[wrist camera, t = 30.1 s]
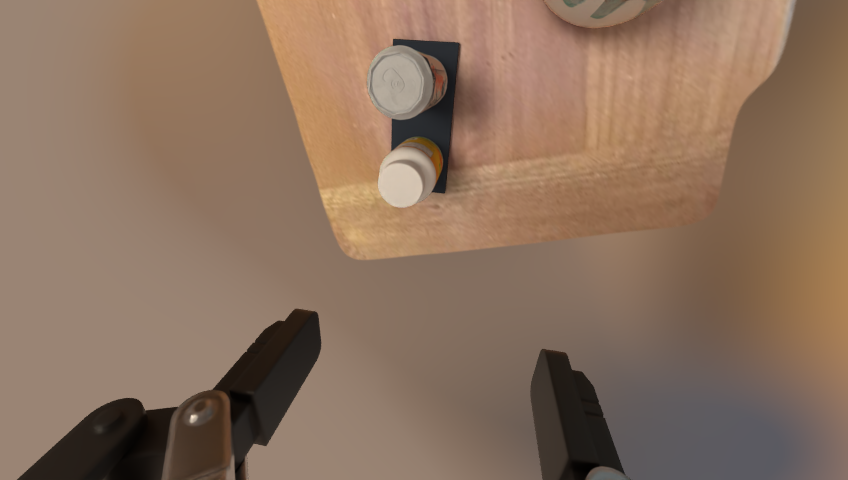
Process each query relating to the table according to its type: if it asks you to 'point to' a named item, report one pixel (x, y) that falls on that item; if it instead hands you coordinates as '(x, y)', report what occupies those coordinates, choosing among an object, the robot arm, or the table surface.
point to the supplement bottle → (410, 172)
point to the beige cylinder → (405, 82)
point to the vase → (599, 11)
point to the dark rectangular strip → (439, 116)
